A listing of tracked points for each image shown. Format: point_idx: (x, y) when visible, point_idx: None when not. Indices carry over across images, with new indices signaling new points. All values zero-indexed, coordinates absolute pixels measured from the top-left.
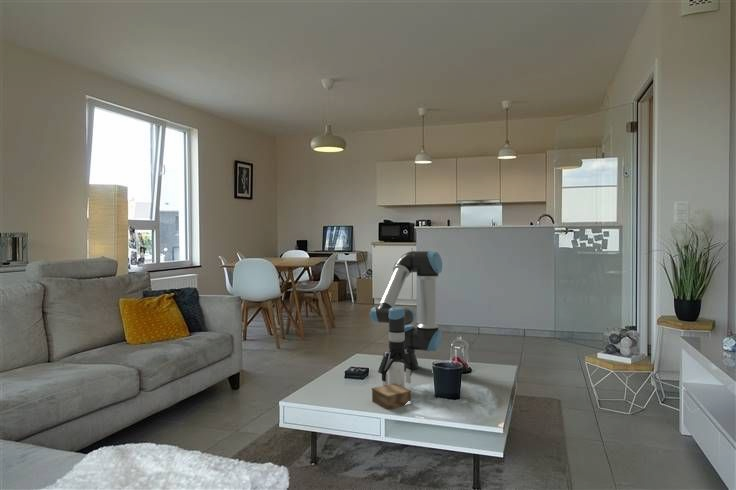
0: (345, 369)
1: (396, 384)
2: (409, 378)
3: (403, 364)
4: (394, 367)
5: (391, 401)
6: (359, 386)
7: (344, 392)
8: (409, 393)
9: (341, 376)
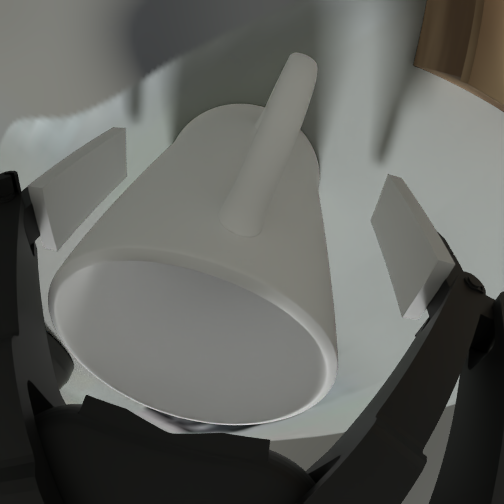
0: None
1: (481, 38)
2: (99, 144)
3: (64, 288)
4: (320, 306)
5: None
6: (359, 346)
7: None
8: None
9: (289, 422)
